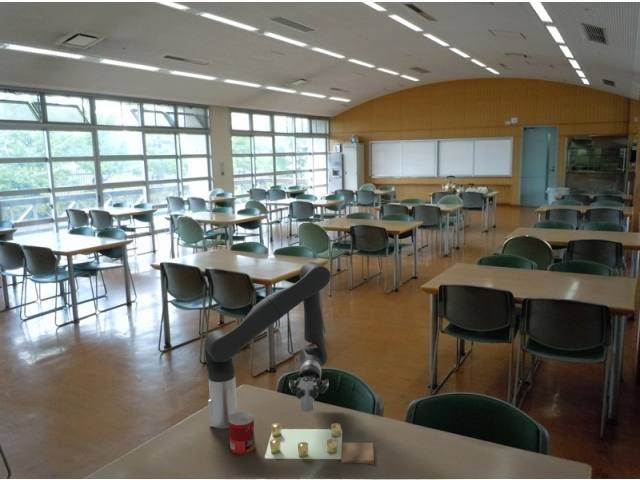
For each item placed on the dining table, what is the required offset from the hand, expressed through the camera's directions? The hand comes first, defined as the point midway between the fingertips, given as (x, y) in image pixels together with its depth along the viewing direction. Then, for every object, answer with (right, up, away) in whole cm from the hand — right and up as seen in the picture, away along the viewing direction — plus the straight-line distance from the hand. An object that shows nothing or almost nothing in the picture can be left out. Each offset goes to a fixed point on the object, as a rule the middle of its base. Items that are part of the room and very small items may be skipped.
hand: (306, 396), depth 168 cm
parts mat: (-1, -17, +5) cm, 18 cm away
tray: (+16, -18, -2) cm, 24 cm away
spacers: (-1, -17, +4) cm, 17 cm away
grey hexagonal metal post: (0, -5, +4) cm, 6 cm away
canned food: (-21, -18, +3) cm, 28 cm away
